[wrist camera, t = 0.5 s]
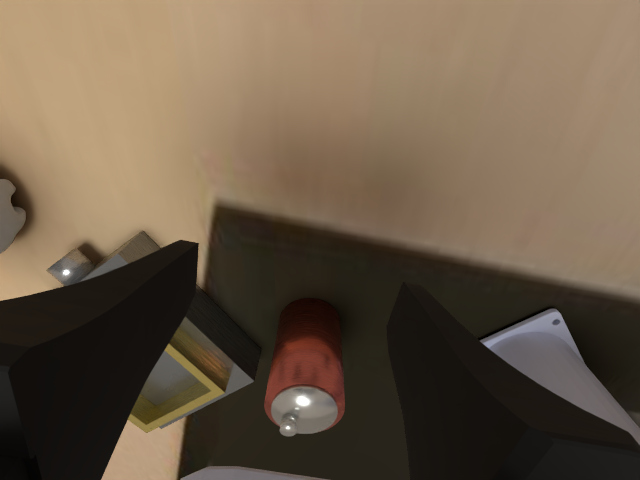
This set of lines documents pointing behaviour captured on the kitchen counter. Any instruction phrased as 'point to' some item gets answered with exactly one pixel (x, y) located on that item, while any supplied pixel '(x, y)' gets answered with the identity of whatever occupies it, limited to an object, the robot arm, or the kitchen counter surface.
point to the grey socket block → (178, 346)
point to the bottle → (9, 215)
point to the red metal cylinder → (306, 369)
